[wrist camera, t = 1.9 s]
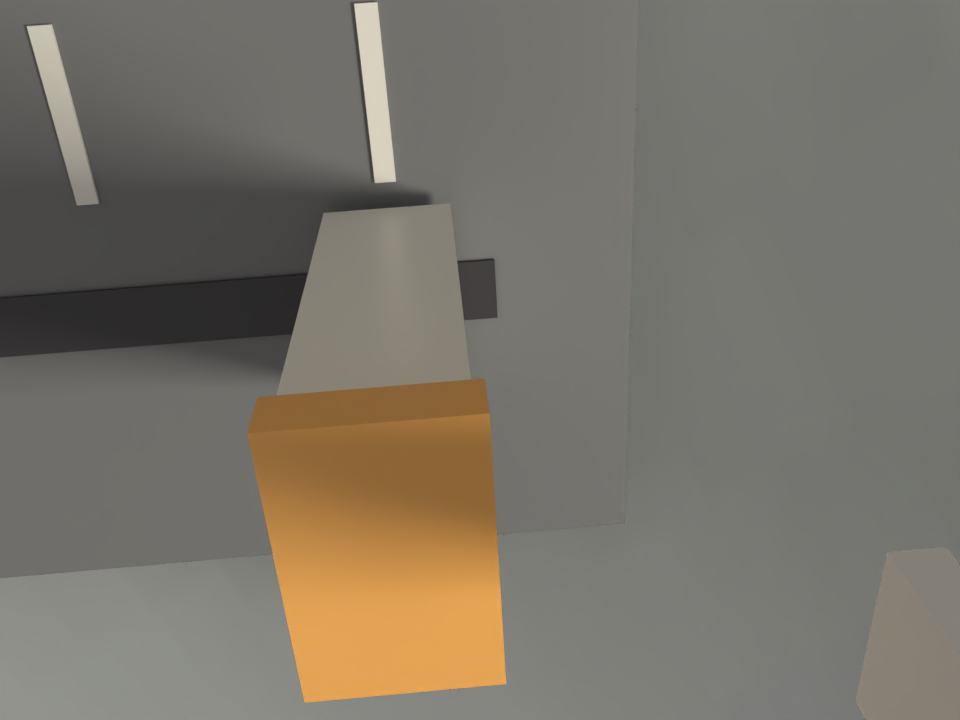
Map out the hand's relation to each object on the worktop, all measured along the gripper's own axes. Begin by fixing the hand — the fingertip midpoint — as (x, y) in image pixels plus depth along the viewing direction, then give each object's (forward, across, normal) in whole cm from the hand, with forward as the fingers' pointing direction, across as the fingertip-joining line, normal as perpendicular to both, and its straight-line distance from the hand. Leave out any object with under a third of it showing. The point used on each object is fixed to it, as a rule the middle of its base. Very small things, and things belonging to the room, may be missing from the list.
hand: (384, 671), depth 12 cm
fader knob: (+12, 0, 0) cm, 12 cm away
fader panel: (+14, +7, 0) cm, 16 cm away
